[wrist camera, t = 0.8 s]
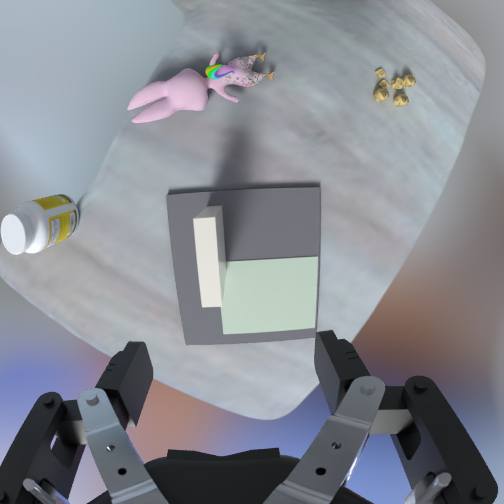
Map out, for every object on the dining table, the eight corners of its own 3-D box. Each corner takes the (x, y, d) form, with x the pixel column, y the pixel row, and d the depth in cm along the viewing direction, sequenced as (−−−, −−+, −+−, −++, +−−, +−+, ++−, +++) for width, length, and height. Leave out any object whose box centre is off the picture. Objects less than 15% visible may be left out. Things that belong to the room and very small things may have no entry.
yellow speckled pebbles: (408, 80, 27) (416, 77, 25) (404, 115, 28) (412, 112, 26) (374, 64, 26) (380, 59, 24) (368, 99, 28) (375, 96, 26)
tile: (206, 206, 29) (193, 218, 20) (222, 205, 29) (215, 217, 20) (211, 271, 31) (202, 307, 22) (226, 270, 31) (222, 306, 22)
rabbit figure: (253, 51, 26) (124, 95, 25) (265, 26, 21) (110, 75, 19) (273, 96, 28) (142, 144, 27) (291, 78, 22) (130, 133, 21)
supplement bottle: (41, 206, 28) (-10, 221, 19) (69, 185, 28) (17, 194, 19) (57, 244, 30) (9, 269, 20) (86, 226, 29) (38, 248, 20)
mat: (167, 194, 29) (166, 195, 29) (318, 187, 30) (319, 187, 29) (186, 342, 34) (185, 345, 33) (314, 335, 34) (315, 337, 34)
